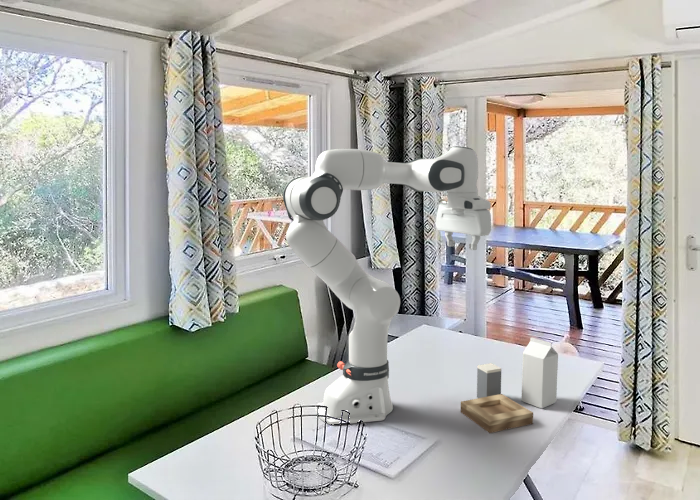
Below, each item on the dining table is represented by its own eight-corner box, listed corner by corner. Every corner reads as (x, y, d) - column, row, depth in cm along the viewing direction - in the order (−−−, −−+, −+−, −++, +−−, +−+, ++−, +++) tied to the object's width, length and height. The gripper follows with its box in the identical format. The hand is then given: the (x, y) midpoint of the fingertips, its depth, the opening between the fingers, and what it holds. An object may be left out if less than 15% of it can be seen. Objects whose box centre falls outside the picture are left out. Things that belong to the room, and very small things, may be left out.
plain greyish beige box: (486, 403, 169) (487, 370, 168) (476, 396, 174) (477, 365, 172) (500, 400, 171) (501, 368, 170) (490, 394, 176) (491, 363, 174)
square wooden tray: (489, 433, 150) (489, 421, 150) (460, 412, 163) (460, 401, 163) (532, 423, 155) (533, 412, 155) (501, 404, 168) (501, 393, 168)
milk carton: (541, 409, 165) (544, 345, 162) (521, 401, 170) (523, 339, 167) (556, 403, 169) (558, 340, 166) (535, 395, 174) (537, 335, 172)
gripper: (431, 201, 177) (431, 245, 179) (479, 204, 160) (478, 253, 162) (446, 200, 181) (446, 243, 183) (495, 203, 163) (494, 251, 165)
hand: (461, 248), depth 172 cm, fingers open, 8 cm apart
